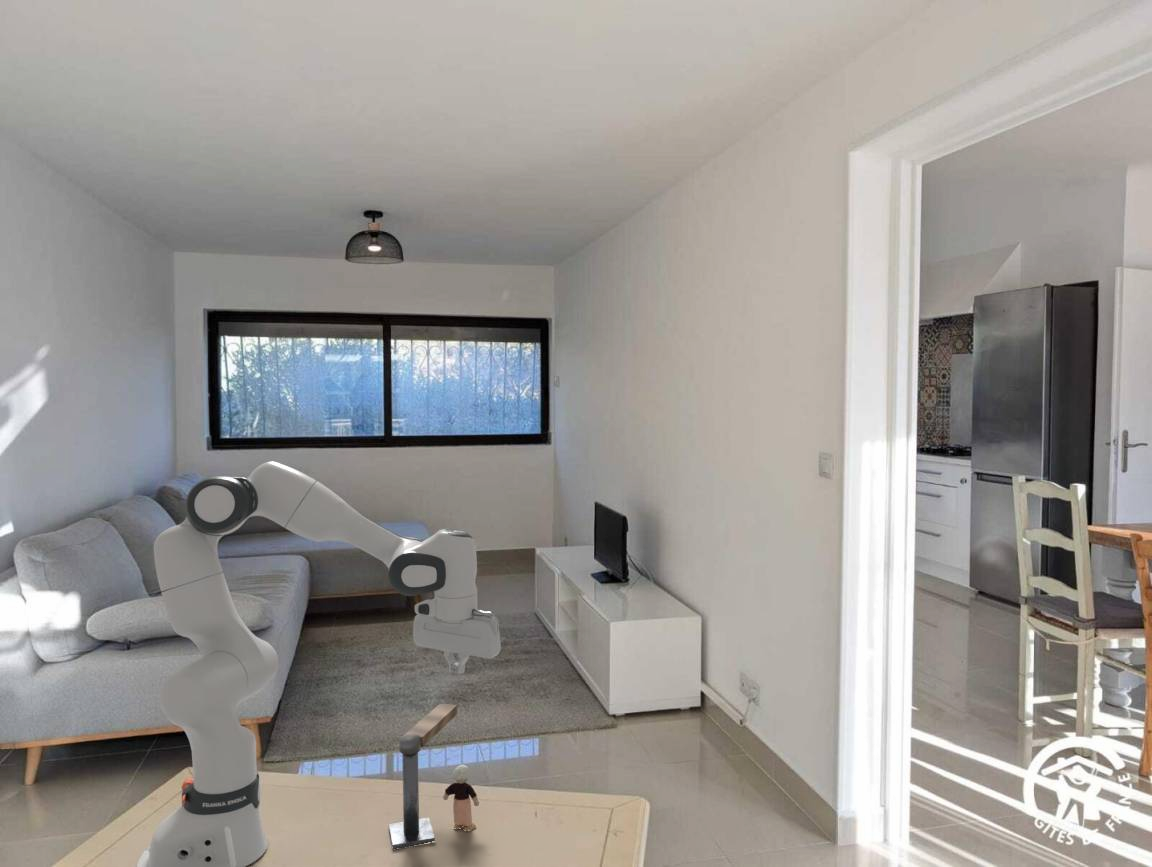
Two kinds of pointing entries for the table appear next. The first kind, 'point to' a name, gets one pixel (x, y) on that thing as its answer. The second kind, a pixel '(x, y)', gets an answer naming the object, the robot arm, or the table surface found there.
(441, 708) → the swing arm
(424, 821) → the arm post
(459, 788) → the grandmother figurine
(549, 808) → the table surface
